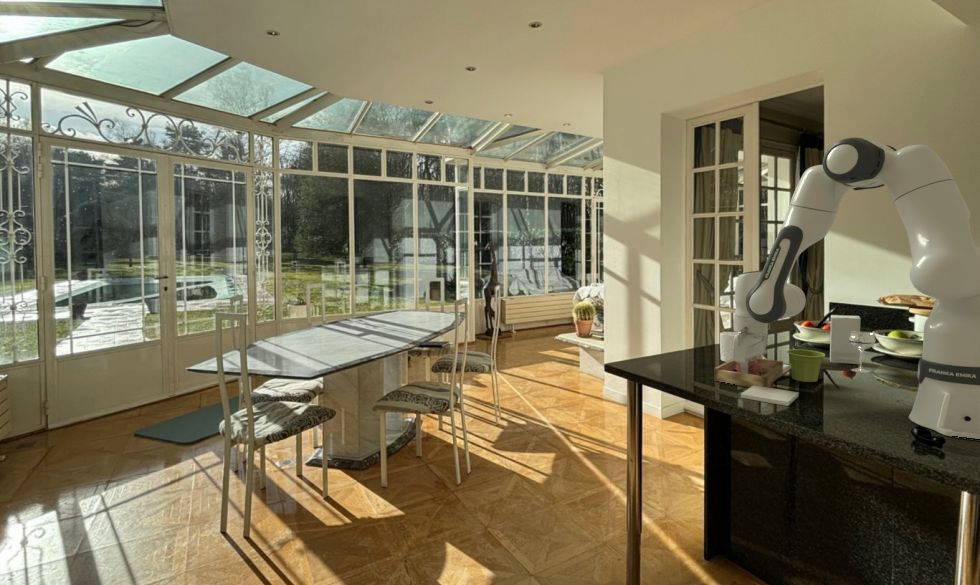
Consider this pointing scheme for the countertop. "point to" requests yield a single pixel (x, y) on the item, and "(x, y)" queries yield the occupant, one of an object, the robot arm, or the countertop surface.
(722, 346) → the white cup
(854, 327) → the skincare box
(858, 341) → the wineglass
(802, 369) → the plant pot
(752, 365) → the flower
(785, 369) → the lid
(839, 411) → the countertop surface
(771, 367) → the open wooden box
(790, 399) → the tile
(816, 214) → the robot arm
